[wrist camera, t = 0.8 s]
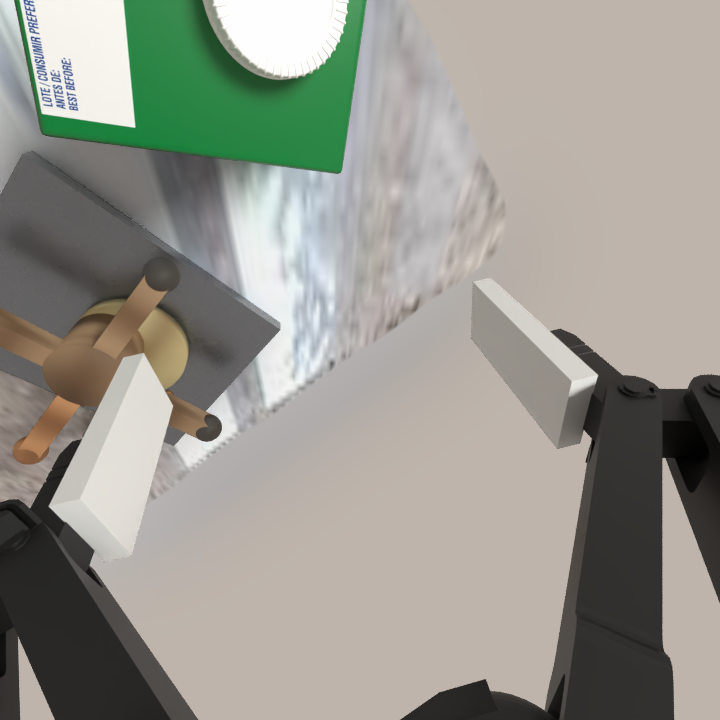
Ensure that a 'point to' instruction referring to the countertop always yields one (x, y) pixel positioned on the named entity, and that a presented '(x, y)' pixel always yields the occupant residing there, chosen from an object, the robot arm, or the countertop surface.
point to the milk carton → (198, 75)
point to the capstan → (106, 357)
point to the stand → (112, 281)
